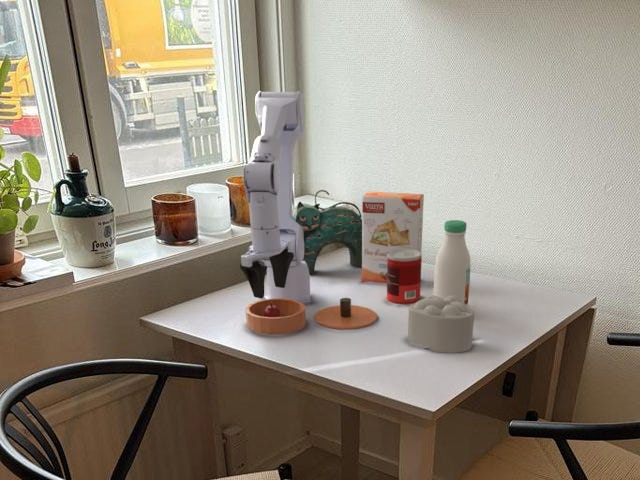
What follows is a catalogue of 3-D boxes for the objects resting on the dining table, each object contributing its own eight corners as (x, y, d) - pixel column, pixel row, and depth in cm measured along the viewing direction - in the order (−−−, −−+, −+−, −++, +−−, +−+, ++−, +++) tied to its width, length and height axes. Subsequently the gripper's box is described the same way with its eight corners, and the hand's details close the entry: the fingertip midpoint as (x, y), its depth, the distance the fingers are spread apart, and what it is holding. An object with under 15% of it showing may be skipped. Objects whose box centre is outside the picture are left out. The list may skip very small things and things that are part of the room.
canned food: (424, 297, 173) (426, 250, 167) (412, 308, 167) (413, 260, 161) (394, 293, 176) (395, 247, 170) (381, 303, 170) (382, 256, 164)
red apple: (278, 318, 160) (277, 298, 158) (283, 324, 158) (281, 303, 155) (262, 320, 159) (260, 300, 157) (266, 326, 157) (265, 306, 154)
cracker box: (361, 283, 182) (361, 195, 171) (366, 276, 187) (366, 190, 176) (417, 287, 180) (420, 198, 168) (420, 280, 184) (424, 192, 173)
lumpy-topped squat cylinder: (429, 327, 157) (431, 287, 152) (482, 341, 150) (486, 300, 145) (401, 342, 150) (402, 301, 146) (455, 357, 143) (458, 315, 139)
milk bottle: (457, 322, 159) (464, 228, 149) (426, 316, 163) (430, 223, 152) (472, 312, 165) (480, 220, 154) (441, 306, 168) (447, 216, 157)
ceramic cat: (299, 277, 187) (295, 194, 176) (290, 270, 192) (286, 189, 181) (369, 267, 194) (370, 187, 183) (359, 261, 199) (359, 182, 188)
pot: (296, 312, 165) (295, 295, 163) (313, 331, 155) (312, 313, 153) (241, 320, 161) (239, 302, 159) (255, 340, 151) (254, 321, 149)
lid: (363, 306, 168) (363, 286, 166) (386, 326, 158) (386, 305, 155) (306, 314, 164) (305, 293, 162) (326, 335, 153) (326, 313, 151)
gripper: (270, 216, 154) (274, 279, 162) (226, 231, 144) (233, 298, 151) (297, 220, 151) (300, 284, 159) (255, 236, 141) (260, 304, 148)
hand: (269, 292), depth 155 cm, fingers open, 7 cm apart
